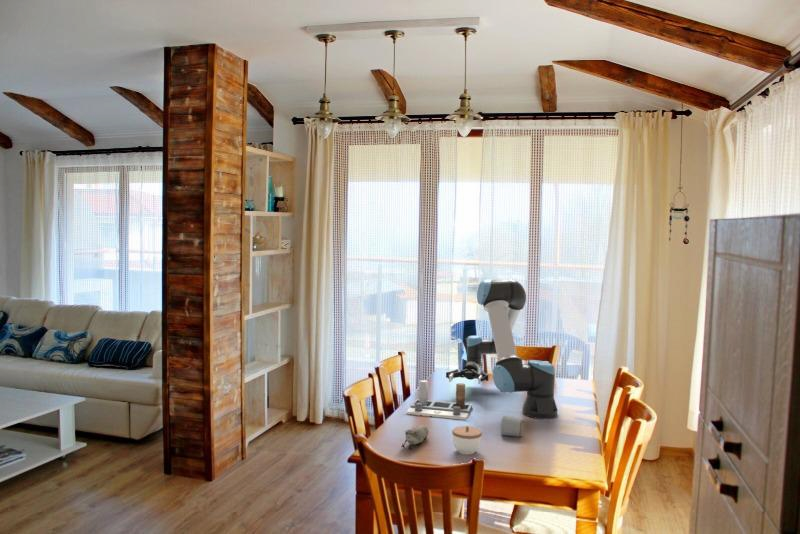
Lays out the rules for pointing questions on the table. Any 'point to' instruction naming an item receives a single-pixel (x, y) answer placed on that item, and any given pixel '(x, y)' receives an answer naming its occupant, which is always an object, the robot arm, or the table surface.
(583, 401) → the table surface
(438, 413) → the plaque
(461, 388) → the walnut pin
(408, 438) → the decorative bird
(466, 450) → the lidded jar
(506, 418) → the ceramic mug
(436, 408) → the pin board
